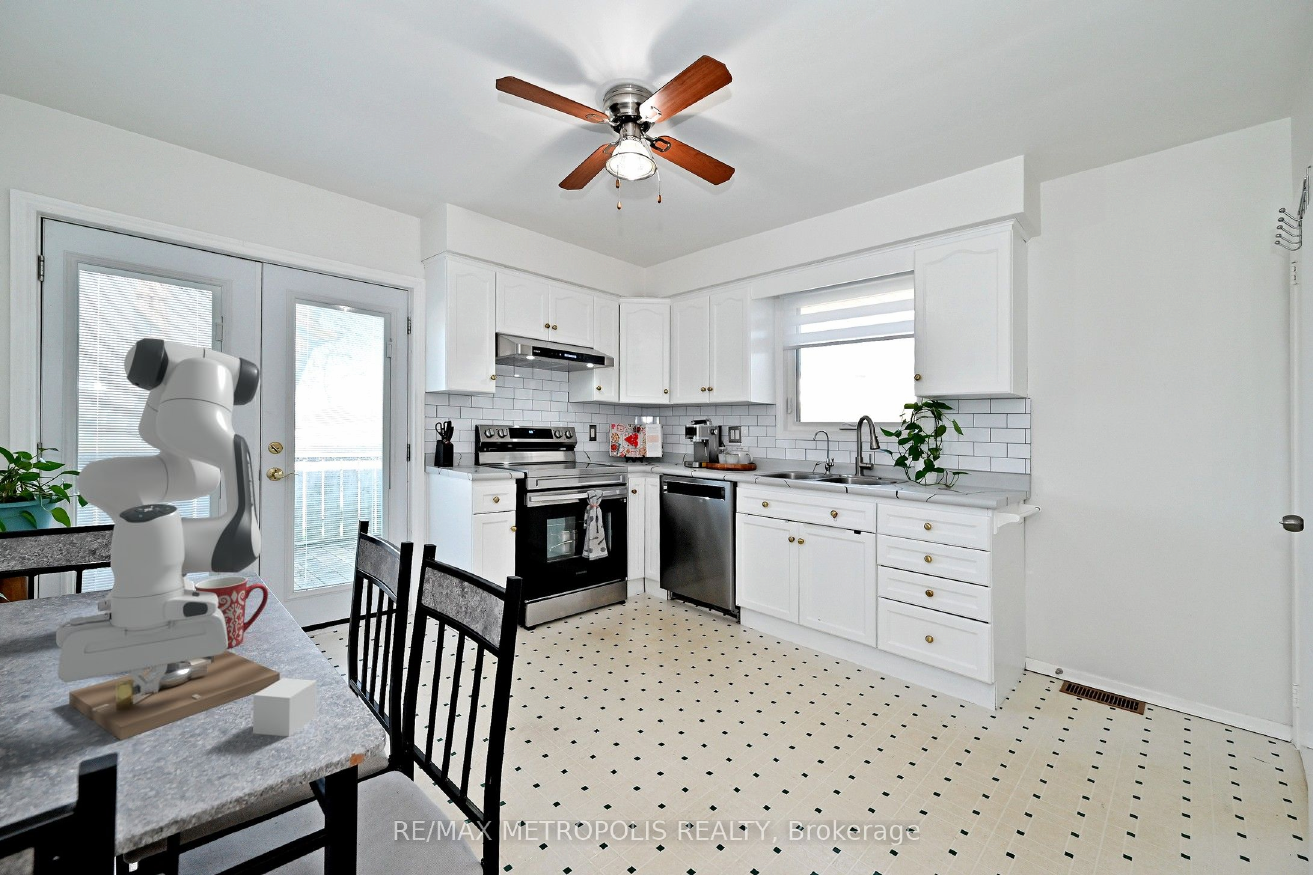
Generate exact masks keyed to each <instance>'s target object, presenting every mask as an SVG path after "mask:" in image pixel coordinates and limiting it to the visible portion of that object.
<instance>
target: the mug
mask: <svg viewBox="0 0 1313 875" xmlns="http://www.w3.org/2000/svg"><path fill="white" fill-rule="evenodd" d="M248 582H249V578H248V577H247V576H246V577H245V576H241V575H239V576H238V575H237V576H235V575H234V576H232V575H231V576H223V577H215V578H210V579H206V580H203V581H202V580H201V581H199V582H197V583H194V590H195V591H204V592H212V593H215V594H216V595H217V597H218V609H220V610H221V611H222V613H223V615H224V619H225V623H226V629H227V639H228V647H227V649H226V650H228V649H231V648H235V647H237V646H238V645H241V644H242V643H243V642H244V637H245V636H244V635H245V634H244V633H245V632H246V631H247V630H248V629H249V628H250V627H251V626H252V625H253V624H254V622H255V621H256V620H257V619H258V617H260V615H261V613H262V612H263V610H264V608H265V607H266V604H267V602H268V598H269V590H268V589H267V587H266V586H265V585H263V584H261V583H254V584H251V585H248V586H247V584H248ZM257 589H261V591H262V599H261V603H260V604H259V606H258V608H257V609H256V611H255V612H254V613H253V615H252V616H251V617H249V619H248V620H247V621H246V622H245V617H246V616H245V614H246V603H247V602H246V600H247V599H248V598H249V596H250V594H251V593H252V591H254V590H257Z"/></svg>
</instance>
